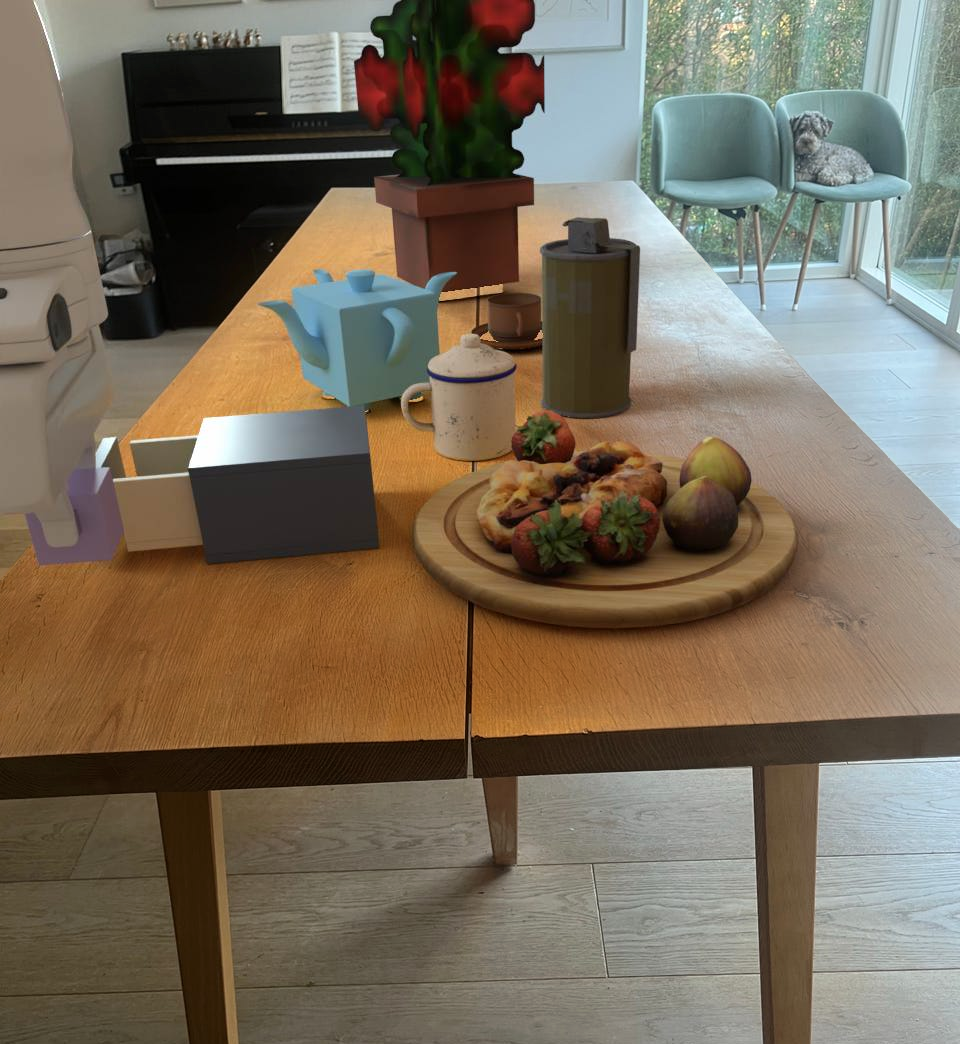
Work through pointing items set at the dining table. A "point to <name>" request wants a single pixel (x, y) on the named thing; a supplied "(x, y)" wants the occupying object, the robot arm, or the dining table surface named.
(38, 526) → the purple block
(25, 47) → the robot arm
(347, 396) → the teakettle
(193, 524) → the drawer
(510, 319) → the cup and saucer
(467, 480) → the wooden plate
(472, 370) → the teacup with lid
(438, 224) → the potted plant
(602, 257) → the canister
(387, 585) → the dining table surface
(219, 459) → the grey drawer box
